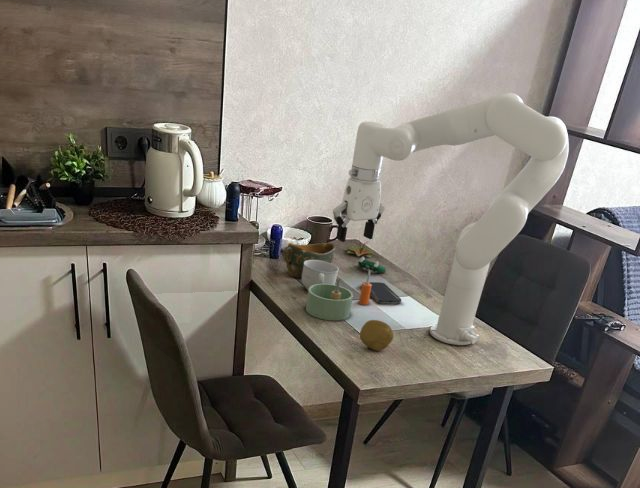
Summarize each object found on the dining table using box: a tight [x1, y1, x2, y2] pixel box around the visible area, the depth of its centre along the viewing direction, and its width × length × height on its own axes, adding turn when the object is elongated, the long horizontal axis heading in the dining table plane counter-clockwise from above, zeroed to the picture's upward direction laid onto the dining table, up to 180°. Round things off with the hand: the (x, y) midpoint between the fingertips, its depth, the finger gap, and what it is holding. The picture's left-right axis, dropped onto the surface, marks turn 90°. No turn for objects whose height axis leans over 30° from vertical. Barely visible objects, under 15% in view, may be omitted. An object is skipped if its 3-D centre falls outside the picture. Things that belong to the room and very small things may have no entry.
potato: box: [359, 319, 394, 352], centre depth 189 cm, size 7×8×8 cm
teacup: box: [301, 260, 340, 291], centre depth 219 cm, size 14×11×8 cm
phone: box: [361, 281, 402, 305], centre depth 225 cm, size 8×1×15 cm
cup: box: [281, 242, 336, 279], centre depth 232 cm, size 13×20×10 cm, turn 105°
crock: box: [305, 284, 354, 322], centre depth 208 cm, size 13×13×6 cm
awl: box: [331, 277, 341, 300], centre depth 204 cm, size 3×3×10 cm
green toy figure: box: [357, 256, 387, 274], centre depth 243 cm, size 9×4×6 cm
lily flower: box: [346, 239, 377, 258], centre depth 257 cm, size 12×12×5 cm
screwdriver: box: [358, 270, 372, 306], centre depth 215 cm, size 3×3×10 cm
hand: (354, 239), depth 199 cm, fingers open, 9 cm apart
